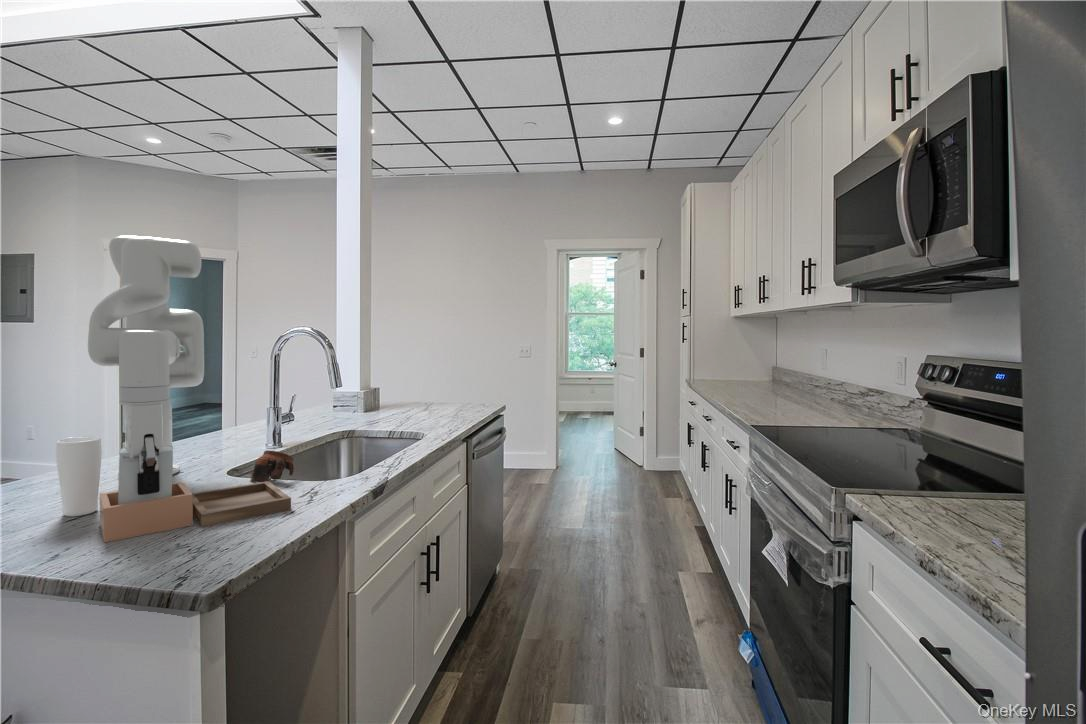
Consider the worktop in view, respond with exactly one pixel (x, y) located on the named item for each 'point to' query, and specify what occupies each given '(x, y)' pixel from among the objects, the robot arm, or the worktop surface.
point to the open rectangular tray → (145, 514)
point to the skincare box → (131, 468)
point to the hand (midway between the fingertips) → (146, 488)
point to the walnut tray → (238, 503)
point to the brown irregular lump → (271, 466)
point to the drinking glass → (79, 474)
